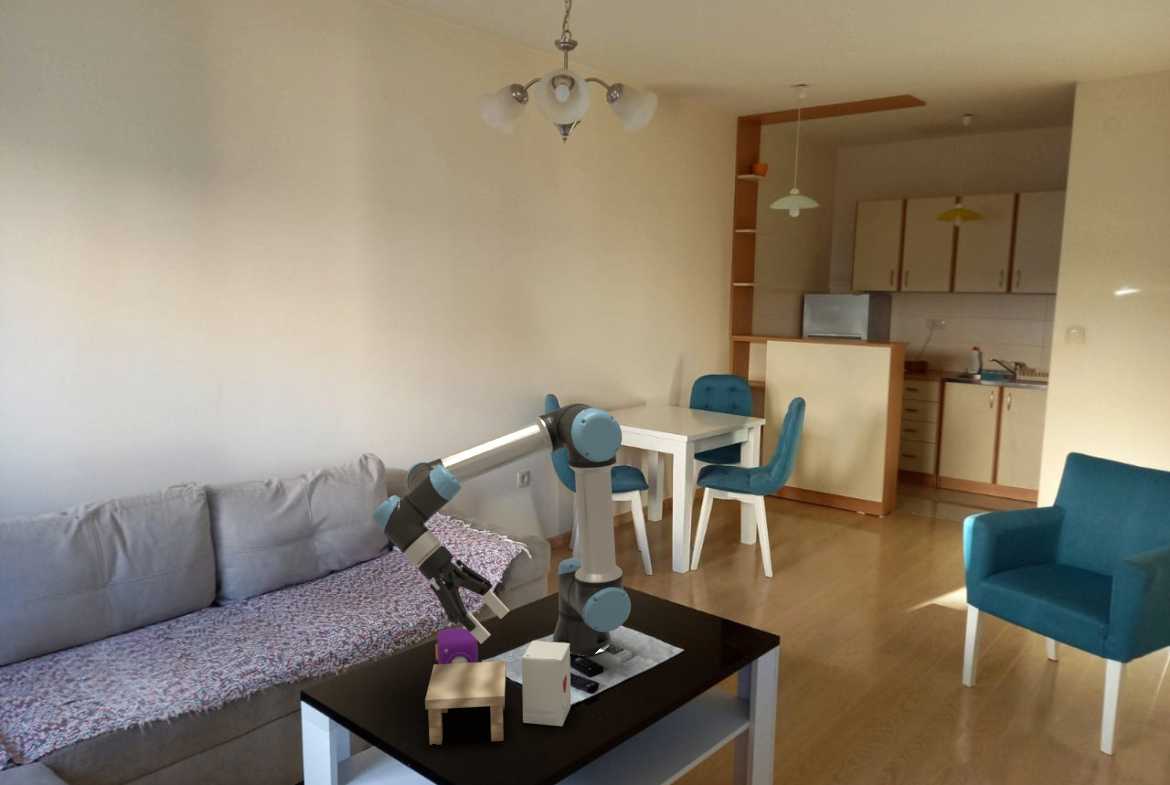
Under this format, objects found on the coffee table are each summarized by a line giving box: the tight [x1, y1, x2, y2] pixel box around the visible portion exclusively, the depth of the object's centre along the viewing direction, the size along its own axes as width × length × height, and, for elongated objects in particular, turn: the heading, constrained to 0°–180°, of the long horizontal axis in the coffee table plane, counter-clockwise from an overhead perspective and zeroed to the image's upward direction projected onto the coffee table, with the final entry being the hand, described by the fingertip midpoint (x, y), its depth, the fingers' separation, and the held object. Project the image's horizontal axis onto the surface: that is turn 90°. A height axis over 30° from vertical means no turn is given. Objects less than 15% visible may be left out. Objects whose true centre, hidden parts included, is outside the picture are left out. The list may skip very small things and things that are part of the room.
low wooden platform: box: [424, 660, 507, 746], centre depth 173 cm, size 16×16×10 cm
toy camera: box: [434, 625, 479, 664], centre depth 196 cm, size 11×14×10 cm
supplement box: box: [521, 640, 572, 727], centre depth 176 cm, size 9×9×15 cm
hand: (496, 626), depth 176 cm, fingers open, 13 cm apart
